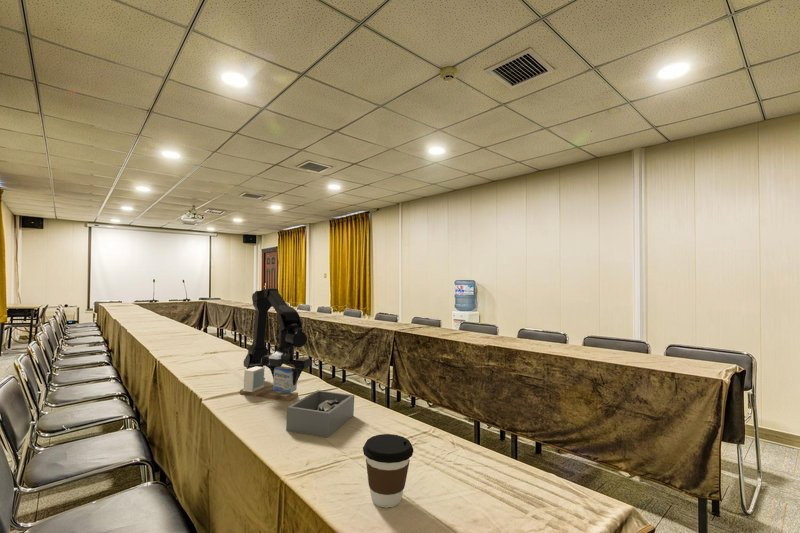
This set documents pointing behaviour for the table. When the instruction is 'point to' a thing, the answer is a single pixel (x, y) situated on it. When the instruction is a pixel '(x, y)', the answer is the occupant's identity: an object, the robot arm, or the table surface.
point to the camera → (328, 405)
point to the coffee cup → (387, 467)
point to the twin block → (253, 378)
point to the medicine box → (283, 379)
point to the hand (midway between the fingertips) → (284, 383)
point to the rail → (271, 394)
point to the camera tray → (319, 414)
